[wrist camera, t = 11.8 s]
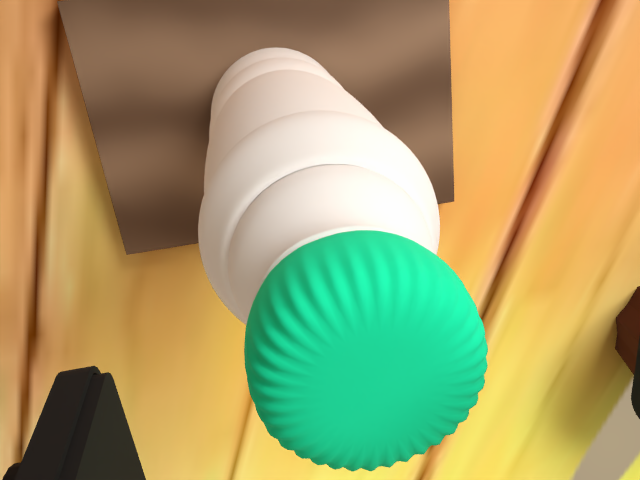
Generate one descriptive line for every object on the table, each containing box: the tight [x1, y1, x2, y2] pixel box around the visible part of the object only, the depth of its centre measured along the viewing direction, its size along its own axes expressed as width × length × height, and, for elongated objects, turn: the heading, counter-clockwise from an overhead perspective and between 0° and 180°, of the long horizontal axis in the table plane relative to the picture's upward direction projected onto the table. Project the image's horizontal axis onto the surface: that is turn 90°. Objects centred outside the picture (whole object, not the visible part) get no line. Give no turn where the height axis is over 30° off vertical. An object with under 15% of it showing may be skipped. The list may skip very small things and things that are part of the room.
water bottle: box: [198, 47, 488, 471], centre depth 22 cm, size 7×7×25 cm
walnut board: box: [57, 0, 454, 255], centre depth 34 cm, size 14×20×2 cm
